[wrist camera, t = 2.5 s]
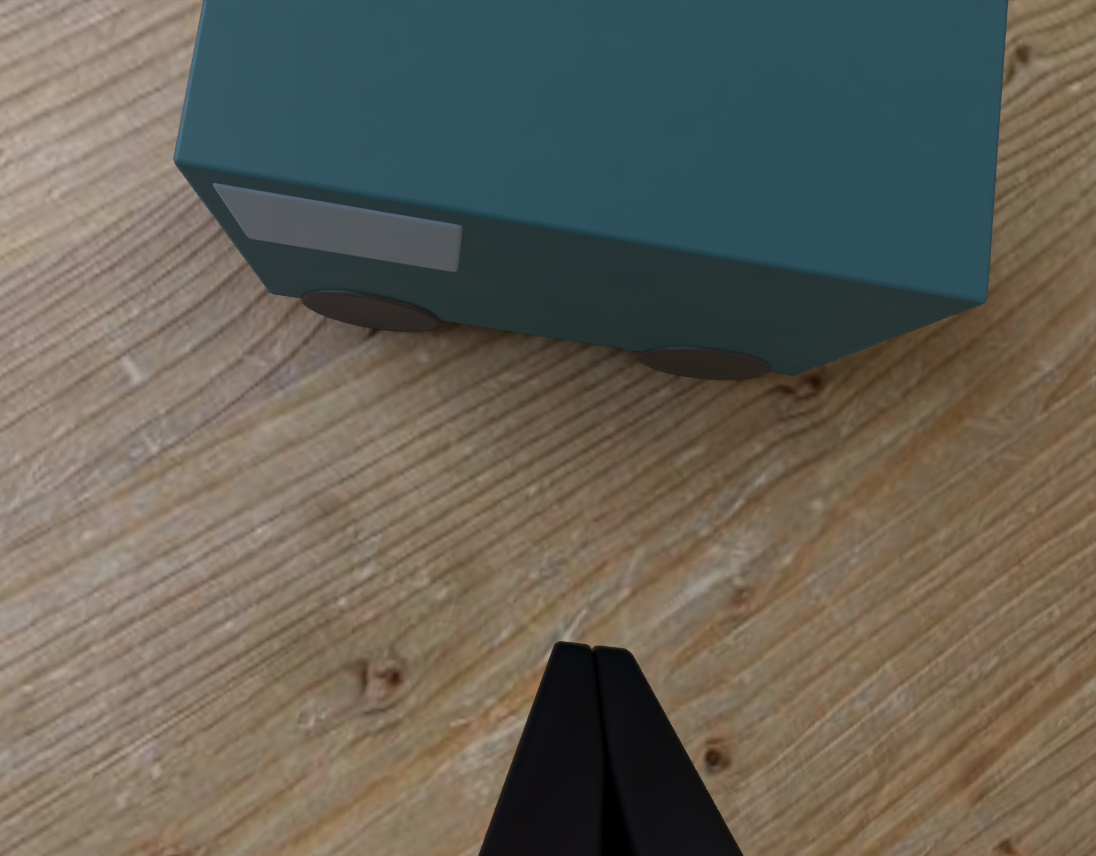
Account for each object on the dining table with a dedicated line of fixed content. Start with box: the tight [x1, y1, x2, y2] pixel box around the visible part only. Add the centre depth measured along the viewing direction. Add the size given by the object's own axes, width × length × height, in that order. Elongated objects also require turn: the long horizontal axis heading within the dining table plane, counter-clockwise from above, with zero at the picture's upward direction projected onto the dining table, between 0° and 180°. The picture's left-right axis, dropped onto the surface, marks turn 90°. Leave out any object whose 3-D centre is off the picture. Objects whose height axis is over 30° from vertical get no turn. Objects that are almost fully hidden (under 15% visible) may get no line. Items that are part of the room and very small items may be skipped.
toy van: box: [173, 0, 1008, 380], centre depth 17 cm, size 12×6×8 cm, turn 83°
